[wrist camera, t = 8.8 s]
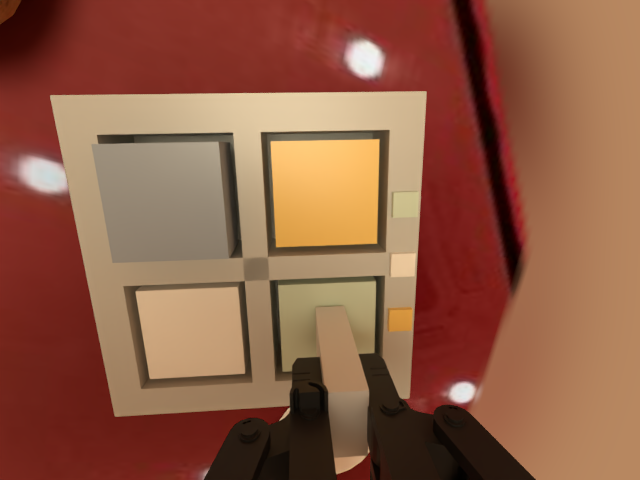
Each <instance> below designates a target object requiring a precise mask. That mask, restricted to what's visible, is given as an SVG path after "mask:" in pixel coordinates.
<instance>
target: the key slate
mask: <svg viewBox="0 0 640 480" xmlns="http://www.w3.org/2000/svg"><path fill="white" fill-rule="evenodd" d="M91 146H92V151H93V157H94V162H95V168H96V173H97V179H98V185H99V190H100V196H101V201H102V207H103V212H104V218H105V224H106V229H107V235H108V240H109V246H110V251H111V257H112V263H127V262H154V261H180V260H207V259H229V258H230V256H231V254H232V253H233V251H234V249H235V248H236V246H237V244H238V236H237V223H236V211H235V199H234V187H233V174H232V162H231V150H230V142H178V143H123V144H91Z"/></svg>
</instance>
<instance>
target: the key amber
mask: <svg viewBox="0 0 640 480" xmlns="http://www.w3.org/2000/svg"><path fill="white" fill-rule="evenodd" d="M379 140H380V139H368V140H313V141H271V160H272V179H273V198H274V217H275V236H276V247H298V246H326V245H354V244H377V223H378V182H379Z"/></svg>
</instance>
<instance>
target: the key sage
mask: <svg viewBox="0 0 640 480" xmlns="http://www.w3.org/2000/svg"><path fill="white" fill-rule="evenodd" d="M278 293H279V312H280V331H281V350H282V369H283V372H287V371H292V365H293V363H294V362H295V360H296V359H297V358H306V357H317V354H316V313H315V307H331V306H344V307H345V311H346V314H347V317H348V321H349V324H350V327H351V331H352V334H353V338H354V341H355V344H356V348H357V351H358V354H366V353H374V349H375V308H376V280H375V279H374V277H373V276H358V277H334V278H310V279H286V280H279V282H278Z"/></svg>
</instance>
